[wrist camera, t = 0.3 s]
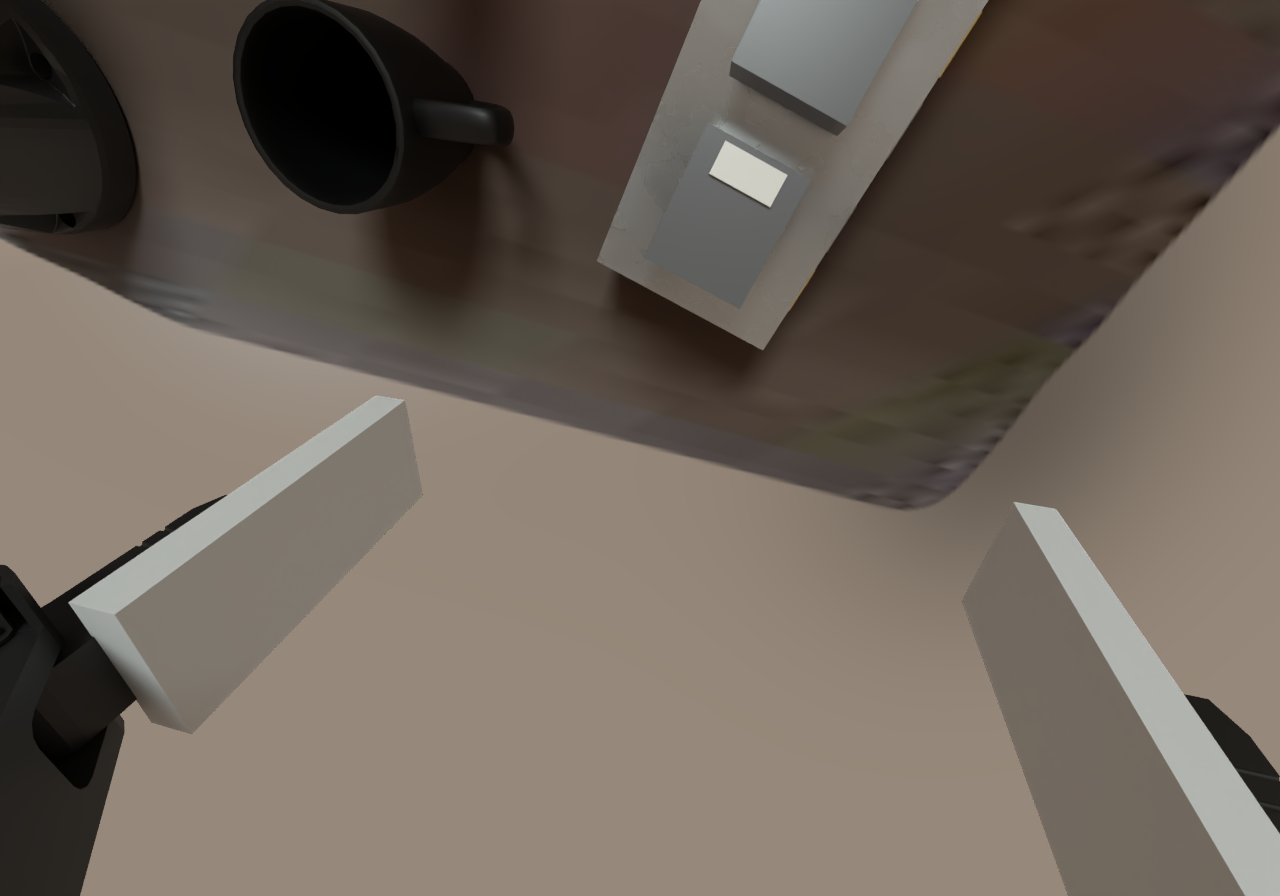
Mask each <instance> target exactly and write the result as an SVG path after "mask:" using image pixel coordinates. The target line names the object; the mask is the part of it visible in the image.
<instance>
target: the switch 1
mask: <svg viewBox="0 0 1280 896" xmlns="http://www.w3.org/2000/svg"><path fill="white" fill-rule="evenodd" d="M810 182H811V180H810V179H809V178H807V177H805V176H803V175H801V174H800V173H798V172H796V171H794V170H792V169H791V168H789V167H787V166H785V165H783V164H782V163H780V162H778V161H776V160H774V159H773V158H771V157H769V156H767V155H766V154H764V153H762V152H760V151H758V150H757V149H755V148H753V147H751V146H749V145H748V144H746V143H744V142H742V141H740V140H739V139H737V138H735V137H733V136H731V135H730V134H728V133H726V132H724V131H722V130H721V129H719V128H717V127H715V126H713V125H712V124H710V123H708V124H707V126H706V128H705V130H704V132H703V134H702V136H701V138H700V140H699V142H698V144H697V146H696V149H695V151H694V153H693V155H692V157H691V159H690V161H689V163H688V165H687V167H686V169H685V171H684V173H683V175H682V178H681V180H680V182H679V184H678V186H677V188H676V190H675V192H674V194H673V196H672V198H671V200H670V202H669V205H668V207H667V209H666V211H665V213H664V215H663V217H662V219H661V221H660V223H659V225H658V227H657V229H656V232H655V234H654V236H653V238H652V240H651V242H650V244H649V246H648V248H647V250H646V252H645V254H644V256H643V257H644V258H646V259H648V260H650V261H651V262H653V263H655V264H657V265H659V266H661V267H663V268H664V269H666V270H668V271H670V272H672V273H674V274H675V275H677V276H679V277H681V278H683V279H685V280H687V281H688V282H690V283H692V284H694V285H696V286H698V287H700V288H701V289H703V290H705V291H707V292H709V293H711V294H712V295H714V296H716V297H718V298H720V299H722V300H724V301H725V302H727V303H729V304H731V305H733V306H735V307H736V308H738V309H740V308H741V306H742V304H743V302H744V300H745V299H746V297H747V295H748V293H749V291H750V290H751V288H752V286H753V284H754V282H755V281H756V279H757V277H758V275H759V273H760V272H761V270H762V268H763V266H764V265H765V263H766V261H767V259H768V257H769V256H770V254H771V252H772V250H773V248H774V247H775V245H776V243H777V241H778V239H779V238H780V236H781V234H782V232H783V230H784V229H785V227H786V225H787V223H788V221H789V220H790V218H791V216H792V214H793V212H794V211H795V209H796V207H797V205H798V204H799V202H800V200H801V198H802V196H803V195H804V193H805V191H806V189H807V187H808V186H809V184H810Z"/></svg>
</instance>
